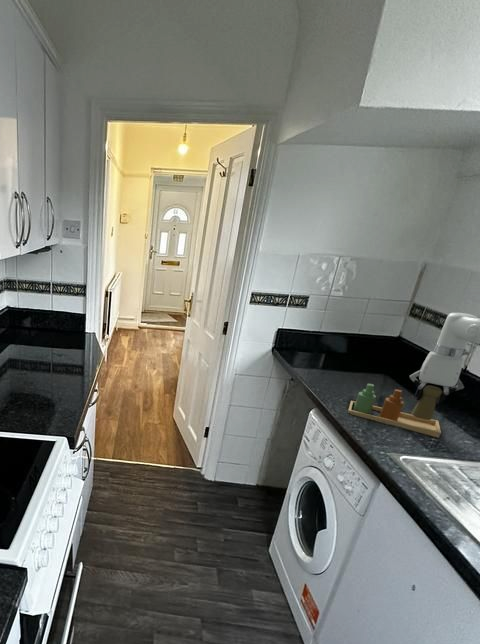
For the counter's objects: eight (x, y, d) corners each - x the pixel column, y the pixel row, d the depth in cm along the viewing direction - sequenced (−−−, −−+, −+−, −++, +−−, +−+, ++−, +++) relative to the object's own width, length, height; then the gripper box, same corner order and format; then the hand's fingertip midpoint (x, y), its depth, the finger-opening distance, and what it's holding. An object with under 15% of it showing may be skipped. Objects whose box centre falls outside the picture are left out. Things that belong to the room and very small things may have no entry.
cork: (429, 421, 141) (442, 392, 137) (408, 414, 146) (420, 385, 141) (434, 416, 145) (447, 388, 140) (414, 410, 149) (426, 382, 144)
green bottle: (370, 411, 156) (380, 384, 152) (369, 416, 152) (379, 388, 147) (353, 407, 159) (362, 380, 155) (352, 412, 155) (361, 384, 150)
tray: (436, 425, 149) (438, 420, 148) (438, 437, 140) (441, 432, 139) (349, 405, 162) (351, 400, 161) (346, 414, 153) (348, 410, 152)
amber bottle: (397, 417, 152) (407, 390, 148) (397, 423, 148) (408, 394, 143) (379, 413, 155) (389, 386, 150) (378, 418, 150) (389, 390, 146)
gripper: (480, 354, 134) (457, 404, 142) (416, 343, 143) (398, 392, 150) (483, 359, 129) (460, 412, 136) (417, 348, 137) (398, 398, 144)
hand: (427, 401), depth 143 cm, fingers closed on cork, 5 cm apart
